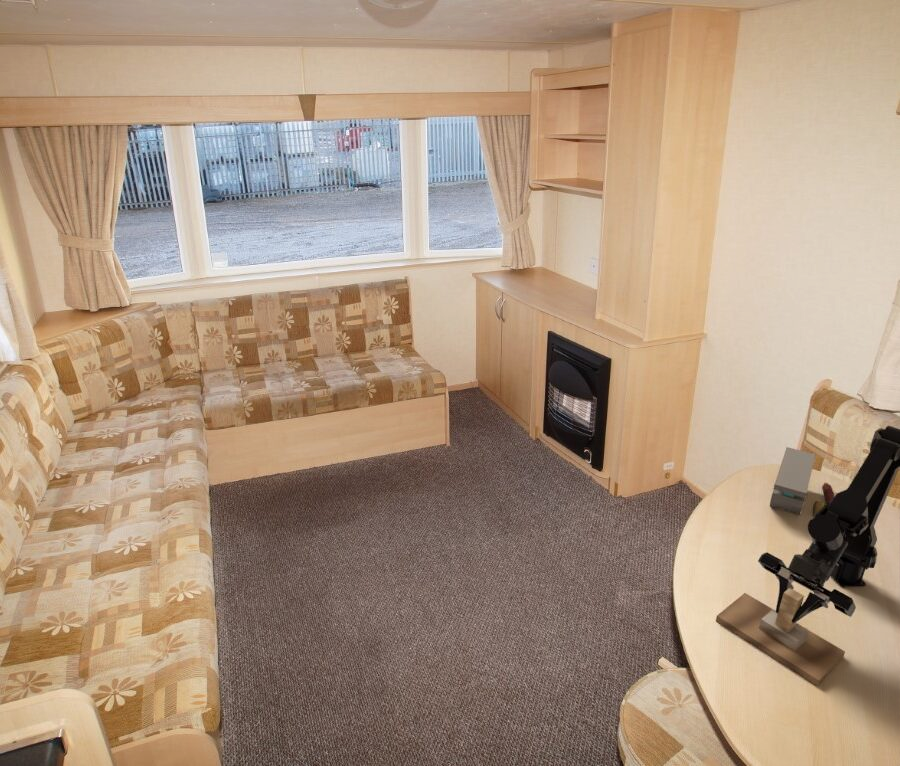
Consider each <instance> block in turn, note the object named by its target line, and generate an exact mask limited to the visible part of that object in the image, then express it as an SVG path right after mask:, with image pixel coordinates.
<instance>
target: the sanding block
mask: <svg viewBox="0 0 900 766" xmlns="http://www.w3.org/2000/svg"><path fill="white" fill-rule="evenodd" d="M804 598H805V595H803V594H802V593H799V592H798V591H796V590H795V589H794V588H793V589H791V588H789V589H788V590H786V591H785V592H784V594H783V597H782V601H781V604H780V608H779V612H778V614H777V613H776V612H774V611H773V610H774V609H773V610H772V611H770V612H769V613H768V614H767V615H765V616H764V617H763V618H762V619H761V621H760V625H759V628H760V629H761V630H763V631H764V632H766V633H767V634H769V635H771V636H772V637H774V638H775V639H777V640H778V641H780V642H782V643H783V644H785V645H786V646H788V647H789V648H791V649H793V650H794V651H796V650H797V649H798V648H799V647H800V646H802V645H803V644H804V643H805V642H806V640H807V637H808V633H809V632H807V631H806V630H804V629H802V628H801V627H799V626H797V625H796V623H797V622H795V623H792V622H791V621H792V619H793V617H794V615H795V614H796V612H797V611H798V610H799V608H800V607H801V606H802V605H803V601H804Z"/></svg>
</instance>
